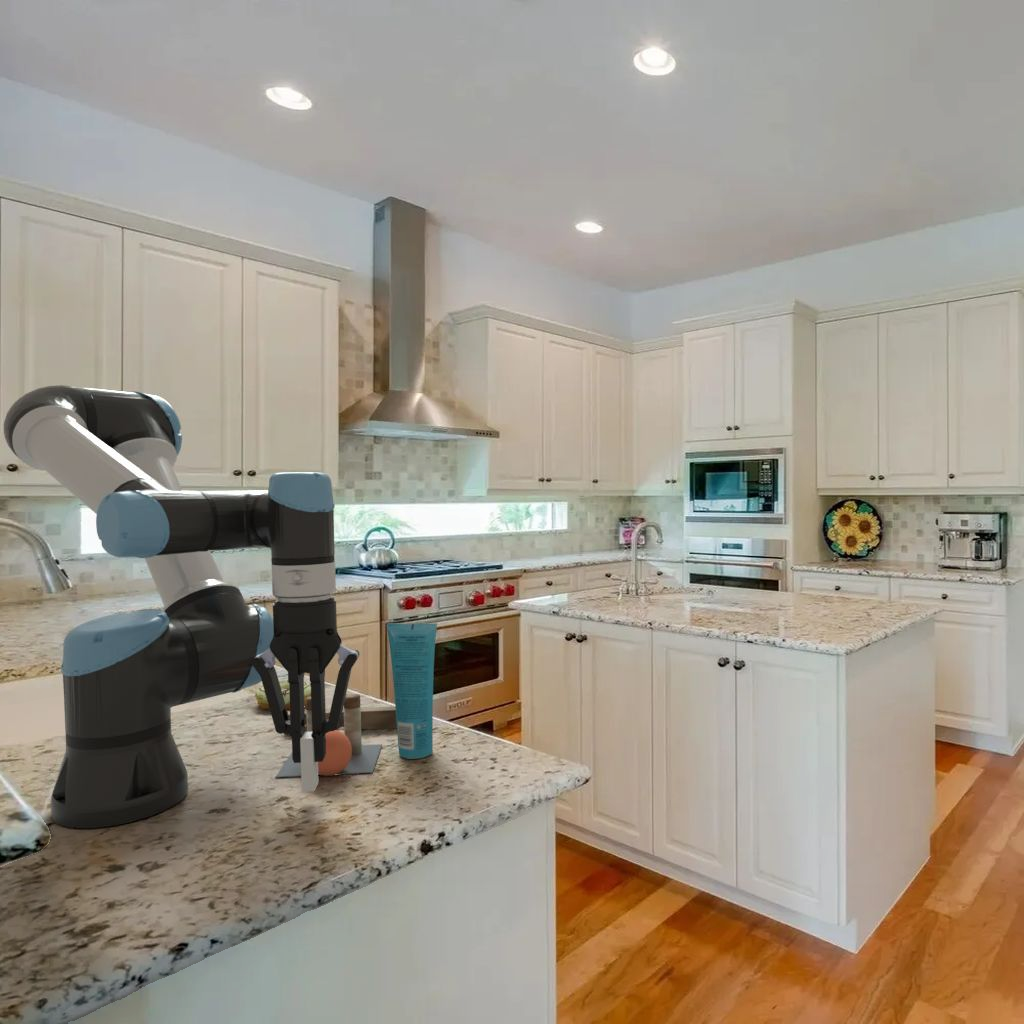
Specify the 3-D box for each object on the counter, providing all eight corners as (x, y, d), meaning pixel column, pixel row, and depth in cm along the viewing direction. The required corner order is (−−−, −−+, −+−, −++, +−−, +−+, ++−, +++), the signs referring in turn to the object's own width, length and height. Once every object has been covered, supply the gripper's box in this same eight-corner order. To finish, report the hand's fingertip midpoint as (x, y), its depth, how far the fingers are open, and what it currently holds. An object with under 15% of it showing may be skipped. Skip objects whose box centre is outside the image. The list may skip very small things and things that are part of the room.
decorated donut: (280, 717, 126) (280, 695, 125) (243, 707, 132) (243, 687, 132) (327, 702, 134) (326, 681, 134) (290, 693, 140) (290, 674, 140)
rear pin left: (343, 757, 104) (342, 699, 104) (346, 751, 107) (344, 694, 106) (360, 756, 104) (358, 698, 104) (362, 750, 107) (361, 693, 107)
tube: (442, 747, 107) (438, 619, 107) (438, 759, 102) (435, 625, 102) (392, 748, 107) (389, 620, 107) (386, 760, 102) (383, 626, 102)
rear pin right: (306, 758, 104) (304, 700, 104) (309, 753, 106) (307, 696, 106) (322, 758, 104) (321, 700, 104) (326, 752, 106) (324, 695, 106)
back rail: (284, 733, 116) (283, 714, 116) (287, 729, 118) (286, 711, 118) (409, 727, 117) (408, 709, 117) (410, 723, 119) (409, 705, 119)
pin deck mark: (275, 778, 97) (275, 776, 97) (294, 749, 108) (294, 748, 108) (372, 773, 98) (372, 771, 98) (381, 745, 109) (381, 744, 109)
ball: (315, 734, 102) (308, 778, 99) (306, 724, 97) (298, 770, 94) (357, 735, 102) (352, 779, 99) (350, 725, 97) (344, 772, 94)
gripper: (241, 603, 84) (247, 802, 85) (353, 600, 85) (359, 797, 86) (259, 595, 92) (265, 778, 92) (362, 591, 93) (367, 773, 93)
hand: (310, 787), depth 89 cm, fingers closed
